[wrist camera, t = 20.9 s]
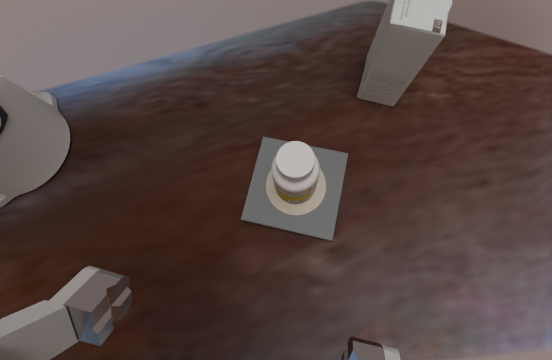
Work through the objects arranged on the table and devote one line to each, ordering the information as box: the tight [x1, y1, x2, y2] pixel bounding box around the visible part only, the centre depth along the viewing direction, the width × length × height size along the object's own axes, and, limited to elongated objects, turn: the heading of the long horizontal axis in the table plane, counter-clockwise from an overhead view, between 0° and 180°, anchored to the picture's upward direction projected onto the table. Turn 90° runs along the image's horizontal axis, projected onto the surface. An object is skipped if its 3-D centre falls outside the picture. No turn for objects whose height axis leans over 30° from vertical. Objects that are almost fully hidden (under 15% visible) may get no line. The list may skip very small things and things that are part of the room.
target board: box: [241, 137, 348, 241], centre depth 39 cm, size 12×12×1 cm
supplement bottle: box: [271, 141, 320, 204], centre depth 34 cm, size 5×5×10 cm
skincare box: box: [357, 0, 452, 107], centre depth 37 cm, size 8×6×15 cm
